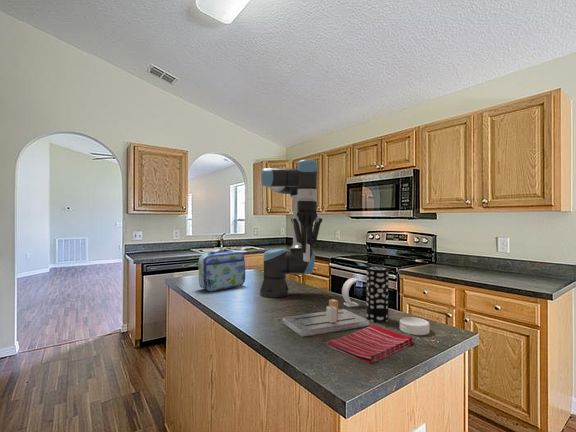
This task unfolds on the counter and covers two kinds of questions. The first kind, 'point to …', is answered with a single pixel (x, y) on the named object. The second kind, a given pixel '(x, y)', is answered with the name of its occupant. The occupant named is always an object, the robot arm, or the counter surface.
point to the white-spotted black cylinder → (377, 294)
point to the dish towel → (371, 343)
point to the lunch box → (221, 270)
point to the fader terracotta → (334, 303)
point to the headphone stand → (346, 292)
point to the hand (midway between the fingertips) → (306, 261)
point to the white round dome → (414, 326)
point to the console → (324, 322)
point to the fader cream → (331, 314)
